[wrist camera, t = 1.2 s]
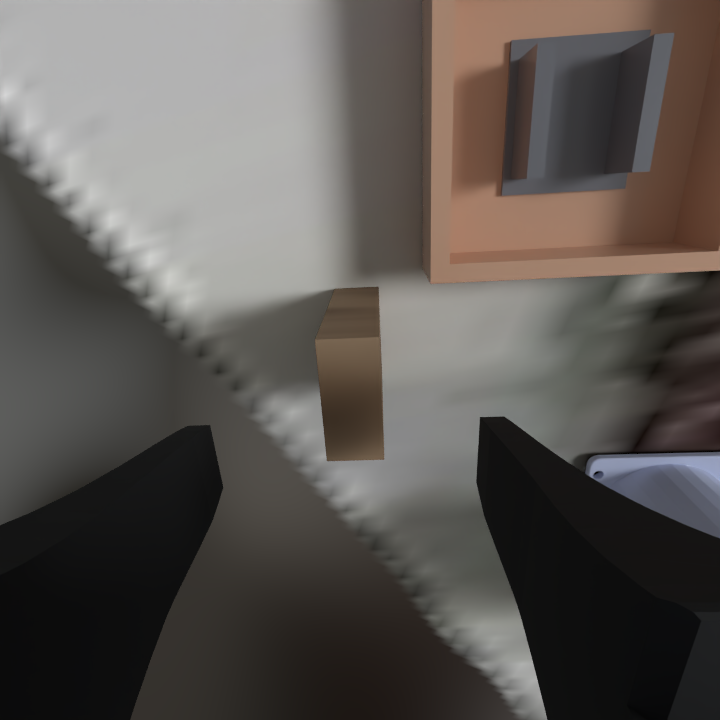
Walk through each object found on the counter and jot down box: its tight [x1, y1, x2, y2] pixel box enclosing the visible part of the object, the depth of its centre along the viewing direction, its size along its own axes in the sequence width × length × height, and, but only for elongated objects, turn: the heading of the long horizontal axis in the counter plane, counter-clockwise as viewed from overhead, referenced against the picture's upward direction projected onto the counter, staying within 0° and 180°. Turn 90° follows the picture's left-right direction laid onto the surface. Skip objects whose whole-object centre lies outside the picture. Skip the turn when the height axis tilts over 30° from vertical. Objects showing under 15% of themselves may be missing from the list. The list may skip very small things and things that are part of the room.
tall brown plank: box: [315, 287, 384, 461], centre depth 18 cm, size 4×2×7 cm, turn 3°
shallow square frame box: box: [422, 0, 720, 284], centre depth 16 cm, size 11×11×3 cm
